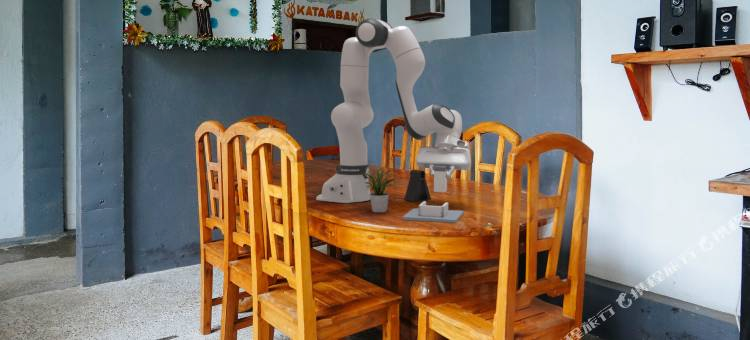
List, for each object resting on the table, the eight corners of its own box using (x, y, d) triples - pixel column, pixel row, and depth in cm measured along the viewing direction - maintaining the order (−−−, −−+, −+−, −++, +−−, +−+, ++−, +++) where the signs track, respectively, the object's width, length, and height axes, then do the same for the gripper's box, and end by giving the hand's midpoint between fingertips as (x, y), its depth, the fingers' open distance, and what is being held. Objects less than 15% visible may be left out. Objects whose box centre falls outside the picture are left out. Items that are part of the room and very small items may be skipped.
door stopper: (413, 202, 221) (413, 172, 219) (404, 200, 226) (404, 170, 224) (431, 199, 226) (431, 170, 224) (421, 197, 231) (421, 168, 229)
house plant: (379, 217, 194) (378, 170, 192) (350, 212, 203) (349, 167, 201) (405, 211, 204) (405, 166, 202) (377, 206, 214) (377, 163, 212)
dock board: (402, 219, 190) (402, 206, 190) (413, 211, 204) (413, 198, 204) (455, 222, 185) (455, 209, 184) (463, 213, 199) (463, 201, 198)
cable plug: (433, 191, 205) (434, 166, 203) (436, 189, 208) (436, 165, 207) (444, 192, 203) (445, 167, 202) (446, 190, 207) (447, 166, 206)
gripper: (418, 140, 214) (411, 169, 206) (472, 142, 207) (467, 172, 200) (420, 151, 219) (414, 180, 211) (474, 153, 212) (469, 183, 204)
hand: (440, 176), depth 205 cm, fingers closed on cable plug, 4 cm apart
